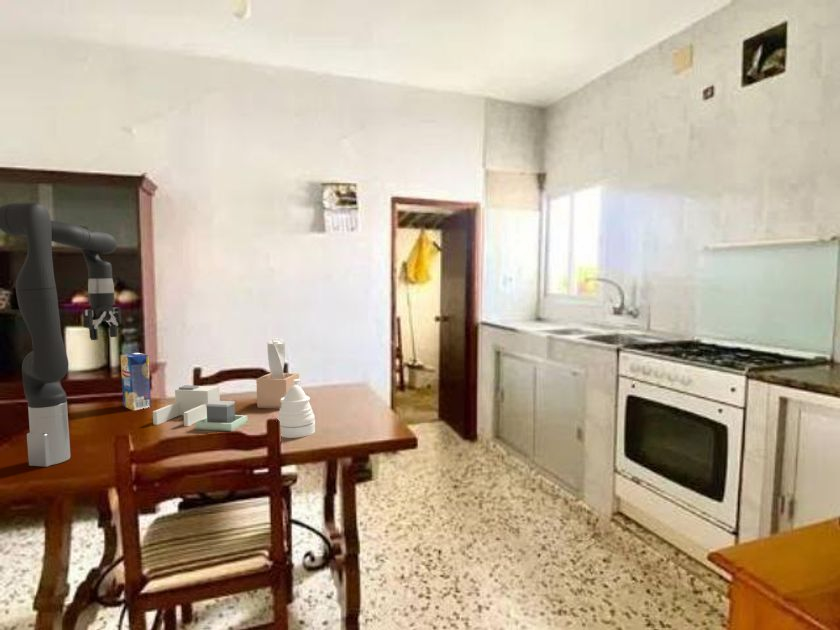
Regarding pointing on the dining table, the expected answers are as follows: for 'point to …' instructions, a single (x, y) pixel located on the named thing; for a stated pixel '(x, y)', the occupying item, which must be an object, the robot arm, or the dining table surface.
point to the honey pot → (296, 413)
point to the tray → (221, 424)
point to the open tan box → (273, 390)
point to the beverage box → (135, 381)
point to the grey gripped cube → (221, 411)
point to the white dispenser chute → (188, 404)
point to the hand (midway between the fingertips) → (104, 338)
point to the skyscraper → (276, 358)
